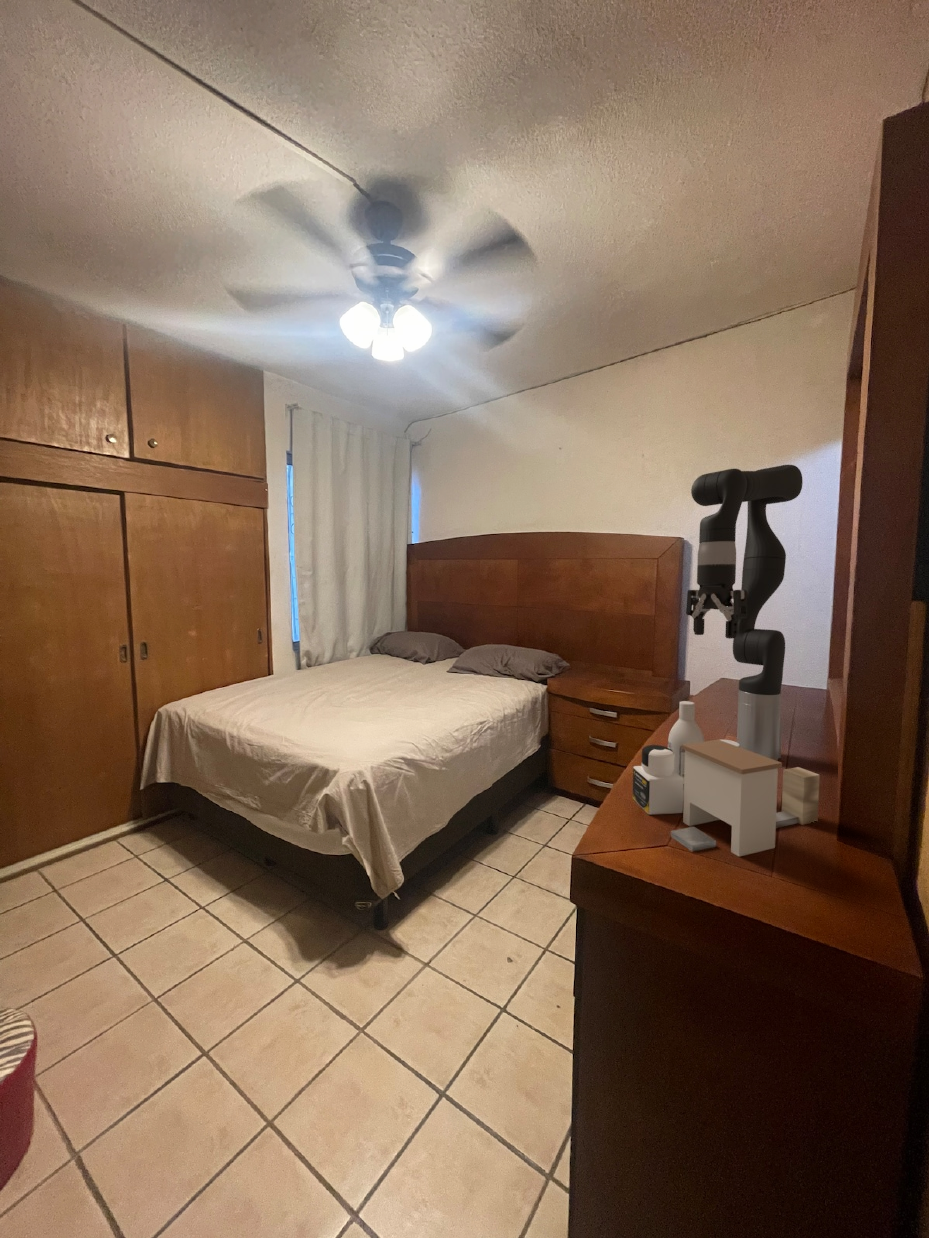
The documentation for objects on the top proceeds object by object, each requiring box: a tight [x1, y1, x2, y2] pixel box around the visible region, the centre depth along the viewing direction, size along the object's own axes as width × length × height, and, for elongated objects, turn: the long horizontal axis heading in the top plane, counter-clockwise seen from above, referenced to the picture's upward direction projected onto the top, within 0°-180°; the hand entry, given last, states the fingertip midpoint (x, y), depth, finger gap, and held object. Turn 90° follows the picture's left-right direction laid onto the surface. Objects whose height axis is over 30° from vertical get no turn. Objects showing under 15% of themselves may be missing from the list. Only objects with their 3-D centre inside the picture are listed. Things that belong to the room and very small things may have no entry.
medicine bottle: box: [632, 744, 684, 816], centre depth 94 cm, size 7×7×12 cm
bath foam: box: [667, 700, 705, 802], centre depth 99 cm, size 7×7×20 cm
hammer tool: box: [776, 766, 821, 829], centre depth 87 cm, size 16×4×9 cm, turn 109°
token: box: [670, 826, 717, 853], centre depth 81 cm, size 5×5×2 cm
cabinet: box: [682, 739, 783, 857], centre depth 83 cm, size 9×13×15 cm
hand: (714, 636), depth 104 cm, fingers open, 8 cm apart
